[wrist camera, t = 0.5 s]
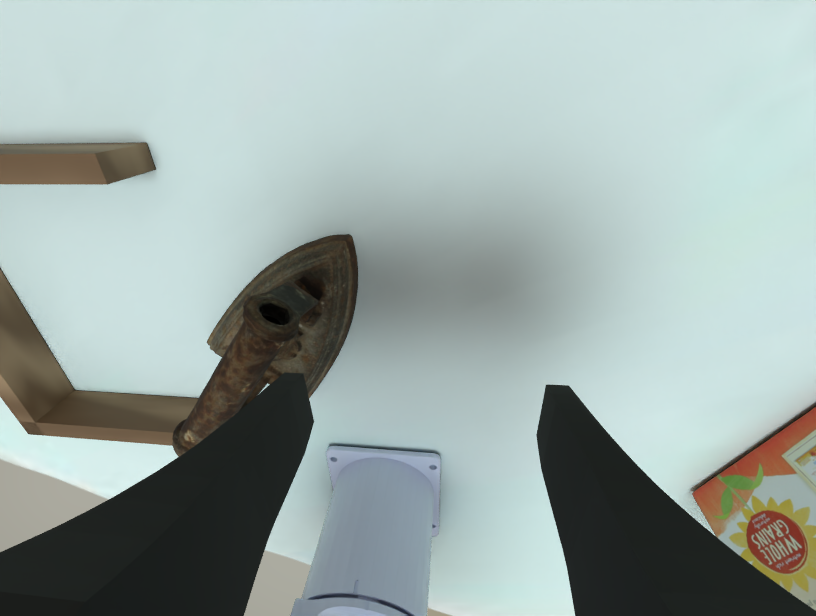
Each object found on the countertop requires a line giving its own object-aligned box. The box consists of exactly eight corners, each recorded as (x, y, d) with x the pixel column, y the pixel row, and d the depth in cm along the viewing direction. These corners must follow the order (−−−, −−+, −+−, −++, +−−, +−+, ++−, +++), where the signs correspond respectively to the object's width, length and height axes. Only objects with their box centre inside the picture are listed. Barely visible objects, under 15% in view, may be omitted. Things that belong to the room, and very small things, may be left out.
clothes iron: (212, 341, 25) (73, 434, 15) (304, 189, 22) (206, 184, 12) (306, 401, 25) (231, 526, 16) (406, 263, 22) (390, 314, 13)
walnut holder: (238, 413, 27) (215, 448, 24) (67, 401, 28) (28, 434, 26) (146, 142, 18) (94, 153, 15) (-97, 145, 19) (-181, 155, 17)
